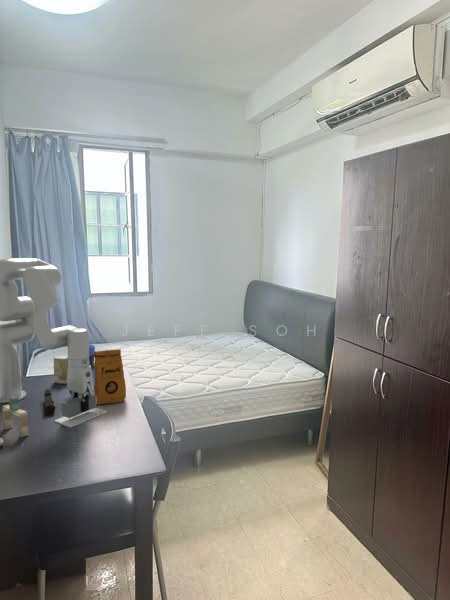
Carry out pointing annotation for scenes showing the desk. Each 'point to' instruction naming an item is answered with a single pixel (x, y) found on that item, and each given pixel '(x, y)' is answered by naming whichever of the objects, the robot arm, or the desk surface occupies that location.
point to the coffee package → (109, 377)
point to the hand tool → (48, 403)
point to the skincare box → (60, 369)
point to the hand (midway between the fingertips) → (80, 408)
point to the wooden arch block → (14, 409)
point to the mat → (80, 417)
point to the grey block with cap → (76, 406)
